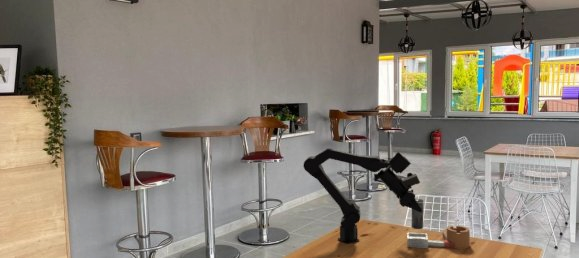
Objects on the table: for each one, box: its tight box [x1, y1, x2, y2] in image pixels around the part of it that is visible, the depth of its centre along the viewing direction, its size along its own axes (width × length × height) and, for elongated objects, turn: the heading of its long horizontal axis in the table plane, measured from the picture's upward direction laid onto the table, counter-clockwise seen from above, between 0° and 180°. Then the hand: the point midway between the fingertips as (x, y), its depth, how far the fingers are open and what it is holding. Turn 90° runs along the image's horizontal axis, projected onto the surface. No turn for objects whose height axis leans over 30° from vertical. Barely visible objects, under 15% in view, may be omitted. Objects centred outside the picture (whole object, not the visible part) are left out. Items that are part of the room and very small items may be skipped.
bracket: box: [442, 225, 471, 250], centre depth 181 cm, size 18×8×7 cm, turn 170°
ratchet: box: [406, 232, 456, 249], centre depth 176 cm, size 8×18×3 cm, turn 76°
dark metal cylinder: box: [411, 198, 425, 230], centre depth 178 cm, size 4×4×11 cm
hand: (421, 209), depth 178 cm, fingers closed on dark metal cylinder, 4 cm apart
